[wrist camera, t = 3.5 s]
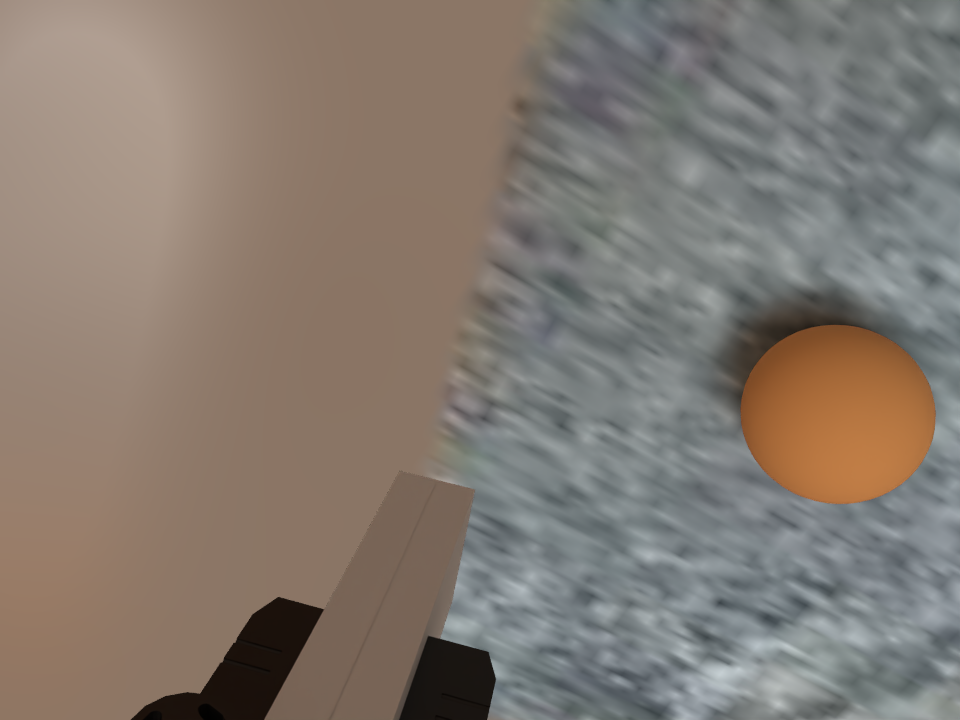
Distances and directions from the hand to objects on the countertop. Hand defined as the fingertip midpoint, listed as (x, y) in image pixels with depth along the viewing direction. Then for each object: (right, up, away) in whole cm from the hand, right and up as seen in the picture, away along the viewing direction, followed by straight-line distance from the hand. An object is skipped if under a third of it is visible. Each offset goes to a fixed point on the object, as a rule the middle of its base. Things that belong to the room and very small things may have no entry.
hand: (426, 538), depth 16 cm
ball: (+12, +2, +9) cm, 15 cm away
